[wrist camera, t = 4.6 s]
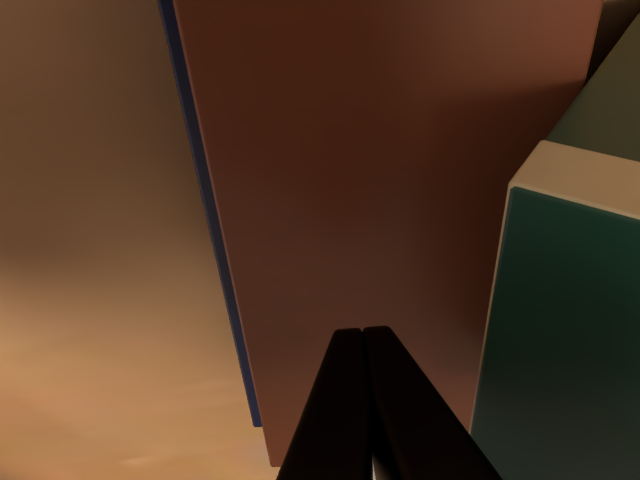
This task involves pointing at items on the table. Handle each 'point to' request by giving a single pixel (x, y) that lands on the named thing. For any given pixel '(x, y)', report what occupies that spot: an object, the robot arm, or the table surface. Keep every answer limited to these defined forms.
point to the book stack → (365, 170)
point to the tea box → (570, 294)
